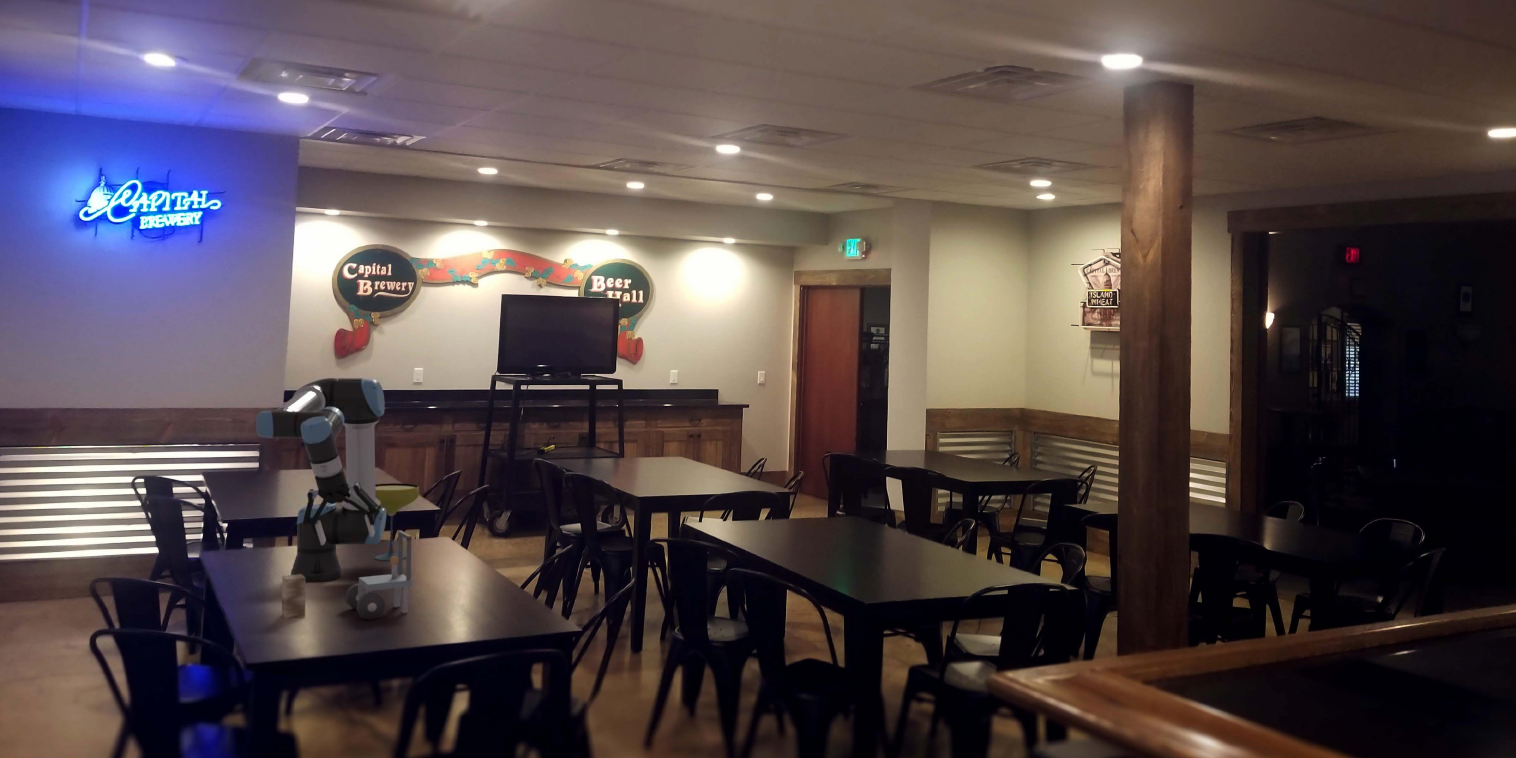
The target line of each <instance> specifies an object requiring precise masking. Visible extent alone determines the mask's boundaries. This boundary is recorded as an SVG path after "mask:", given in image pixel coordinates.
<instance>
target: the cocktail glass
mask: <svg viewBox="0 0 1516 758" xmlns="http://www.w3.org/2000/svg"><path fill="white" fill-rule="evenodd" d="M419 495H420V486H419V485H417V484H412V483H399V482H398V483H394V482H391V483H377V484H376V483H375V497H376V498H377V499H378V500H379V501H380V503H381V508H385V509H386V514H387V515H388V516H389V517H390V530H389V531H390V534H389V535H390V537H389V550H388V552H387V553H385V554H379V555H376V556H375V557H374V559H375V560H377V561H382V562H383V561H384V562H386V561H387V562H391V561H390V560H391V558H392V557H393V556H396V557H398V553H395V552H394V547H393V518H394V516H395V515H396V514H397V513H398V511H399V510H400V509H402V508H404V507H406V506H408V505H410V504H411V503H413V502H415V501H416V500H417V499H418V498H419ZM406 556H407V554H403V555H402V560H405V559H406Z"/></svg>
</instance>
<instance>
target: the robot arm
mask: <svg viewBox="0 0 1516 758" xmlns="http://www.w3.org/2000/svg"><path fill="white" fill-rule="evenodd" d="M385 405H386V402H385V394H384V390H383V387H382V385H381V383H380V381H378V380H377V379H372V378H371V379H369V378H365V377H364V378H357V377H354V378H353V377H351V378H350V377H349V378H346V377H345V378H340V377H338V378H334V377H328V378H322V379H318V380H314V381H312V382H309V383H307V384H304V385H303V386H301V387H300V388H298V389H297V390H296V391H295V392H294V394H293V396H292V398H290V399H289V400H288V401H286V402H285V403H284V404H283V405H281V406H279V408H277V409H276V410H262V411H260V412H258V414H257V415H256V420H255V430H256V434H257V436H258V437H259V438H262V439H263V438H264V439H271V440H272V439H302V440H303V443H304V446H305V449H306V453H307V455H308V459H309V463H310V466H311V470H312V473H313V475H314V480H315V483H316V486H317V489H318V490H317V489H316V490H315V489H314V488H310V489H309V491H308V492H307V496H306V497H307V504H306V506H304V507H302V508H300V509H299V510H298V513H297V519H296V520H297V521H296V526H297V527H296V530H297V531H296V534H297V535H296V540H297V541H296V556H295V559H294V562H293V565H292V568H291V571H290V575H298V574H302V575H303V576H304V577H305V583H312V582H315V583H316V582H317V583H318V582H325V581H332V580H336V579H339V578H341V577H342V575H343V572H342V571H343V569H342V566H341V565H340V560H339V557H338V554H337V545H341V546H343V545H345V546H346V545H348V546H349V545H362V546H363V545H364V546H366V545H377V544H379V543H380V542H381V541H382V538H383V536H384V532H385V528H386V523H387V522H386V521H387V512H386V509H385V508H381V503H380V501H379V500H378V499H377V498H376V497H375V484H376V456H375V455H376V453H375V452H376V450H375V445H376V443H375V442H376V441H375V426H376V425H377V423H379V422H380V417H381V416H384V414H385V411H386V410H385V409H386V408H385ZM344 427H345V459H346V460H345V462H346V463H345V465H346V466H345V467H346V475H345V472H344V471H345V470H344V469H343V465H342V462H341V457H340V454H339V450H338V447H337V444H336V440H337V438H338V436H339V434H340V433H341V432H342V431H343V428H344ZM317 496H319V497H320V498H321V499H322V501H321V502H320V503H319V504H318V503H317V504H314V503H315V499H316V498H317ZM337 503H339V504H340V503H342V505H341V507H338V505H337Z"/></svg>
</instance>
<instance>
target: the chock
mask: <svg viewBox="0 0 1516 758" xmlns="http://www.w3.org/2000/svg"><path fill="white" fill-rule="evenodd" d="M281 578H282V579H281V580H282V583H281V584H282V585H281V595H282V596H281V616H282V618H284V619H285V620H292V619H301V618H305V617H306V582H305V577H304V576H303V575H302V574H298V575H291V574H289V575H282V577H281Z"/></svg>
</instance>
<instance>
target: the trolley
mask: <svg viewBox="0 0 1516 758" xmlns="http://www.w3.org/2000/svg"><path fill="white" fill-rule="evenodd" d="M397 534H398V535H397V536H398V537H397V554H398V557H396V556H393V557H392V558H391V560H390V561H389V562H390V564H391V574H382V575H381V574H379V575H370V576H362V577H361V576H360V577H358V583H355V584H353V585H351V586H350V587H348V589H347V591H346V593H345V597H344V598H345V602H346V604H347V605H348V606H349V607H350V608H352V609H353V610H356V611H357V613H358V615H359V616H361V617H362V618H363V619H365V620H368V621H373V620H376V619H378V618H380V617H381V616H382V614H383V613H384V612H385V608H386V604H385V600H384V598H382V596H381V595H379V594H377V593H376V592H373V591H381V590H383V591H384V590H390V589H393V607H394V608H401V613H402V614H408V613H409V587H412V586H413V580H412V579H411V578H412V535H410V534H408V533H407V532H405V531H403V530H398V532H397ZM404 539H405V540H406V558H405V559H406V563H405V564H406V565H405V566H406V567H405V569H406V570H405V573H406V574H403V559H402V555H404V554H403V551H404V550H403V545H404V544H403V543H404Z"/></svg>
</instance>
